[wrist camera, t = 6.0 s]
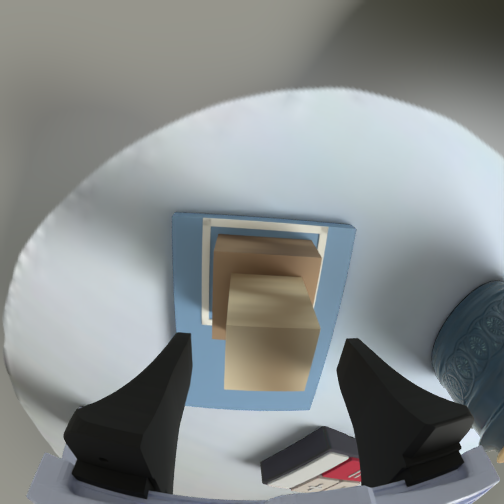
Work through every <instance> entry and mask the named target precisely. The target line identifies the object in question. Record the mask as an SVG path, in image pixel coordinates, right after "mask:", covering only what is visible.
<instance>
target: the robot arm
mask: <svg viewBox="0 0 504 504" xmlns="http://www.w3.org/2000/svg"><path fill="white" fill-rule="evenodd" d="M192 368H193V362H192V342H191V333H183V332H177V333H176V334H175V335H174V337H173V338H172V339H171V341H170V342H169V343H168V345H167V346H166V347H165V348H164V349H163V351H162V352H161V353H160V354H159V355H158V356H157V357H156V358H155V359H154V361H153V362H152V363H151V364H150V365H148V366H147V367H146V368H145V369H144V370H143V371H142V372H141V373H140V374H139V375H138V376H137V377H135V378H134V379H133V380H132V381H130V382H129V383H127V384H126V385H125V386H123V387H122V388H120V389H119V390H117V391H116V392H114V393H112V394H111V395H109V396H107V397H105V398H103V399H101V400H99V401H97V402H95V403H92V404H90V405H87V406H84V407H79V408H78V409H77V410H76V411H75V413H74V414H73V416H72V418H71V419H70V421H69V424H68V426H67V428H66V430H65V432H64V440H65V442H66V445H65V448H64V451H63V456H62V458H59V457H56V456H54V455H51V454H49V453H44V455H43V457H42V460H41V462H40V464H39V467H38V469H37V471H36V474H35V476H34V478H33V481H32V483H31V486H30V488H29V491H28V493H27V498H28V499H29V500H30V501H31V502H33V503H34V504H472V503H473V502H474V501H476V500H477V499H478V498H480V496H482V495H483V494H485V493H486V492H487V491H488V490H490V489H491V488H492V487H493V486H494V485H496V484H497V483H498V482H499V481H500V478H499V476H498V475H497V472H496V471H495V469H494V467H493V465H492V463H491V461H490V459H489V457H488V455H487V454H486V452H485V450H484V448H483V446H482V445H480V446H478V447H476V448H473V449H471V450H469V451H467V452H465V453H463V454H462V455H460V453H459V450H460V449H461V445H460V443H459V442H460V441H461V440H462V438H463V437H464V436H465V435H466V434H467V432H468V431H469V430H470V428H471V427H472V425H473V423H474V417H473V415H472V414H471V412H470V410H469V409H468V407H467V406H466V405H462V404H459V403H455V402H452V401H449V400H446V399H444V398H441V397H439V396H436V395H434V394H432V393H430V392H428V391H426V390H424V389H422V388H420V387H419V386H417V385H415V384H414V383H412V382H411V381H409V380H407V379H406V378H404V377H403V376H402V375H400V374H399V373H398V372H396V371H395V370H394V369H393V368H391V367H390V366H389V365H388V364H386V363H385V362H384V361H383V360H382V359H381V358H380V357H378V356H377V355H376V354H375V353H374V352H373V351H372V350H371V349H370V348H369V347H367V346H366V345H365V344H364V343H363V342H362V341H361V340H359V339H358V338H351V339H346V341H345V345H344V348H343V351H342V354H341V357H340V361H339V364H338V367H337V376H338V381H339V386H340V390H341V393H342V396H343V398H344V401H345V404H346V407H347V410H348V413H349V416H350V419H351V422H352V425H353V428H354V433H355V438H356V443H357V449H358V455H359V463H360V472H361V486H353V487H347V488H341V489H334V490H327V491H319V492H309V493H297V494H289V495H282V496H278V497H275V498H272V499H269V500H258V501H250V500H221V499H207V498H196V497H188V496H180V495H173V480H174V468H175V458H176V449H177V441H178V433H179V427H180V422H181V418H182V414H183V411H184V407H185V403H186V399H187V395H188V391H189V388H190V383H191V376H192Z"/></svg>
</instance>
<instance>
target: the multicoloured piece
mask: <svg viewBox="0 0 504 504" xmlns="http://www.w3.org/2000/svg"><path fill="white" fill-rule="evenodd" d="M261 474H262V483H263V484H266V485H268V486H273V487H278V488H284V489H291V491H296V492H303V493H309V492H319V491H327V490H334V489H341V488H347V487H353V486H357V485H359V484H360V482H361V472H360V463H359V455H358V449H357V443H356V439H355V438H352V437H349V436H348V435H346V434H344V433H342V432H339V431H337V430H334V429H332V428H329V427H326V426H323V427H321V428H319V429H318V430H316V431H314V432H313V433H311V434H310V435H308V436H306V437H305V438H303V439H301V440H300V441H298V442H296V443H295V444H293V445H291V446H289V447H288V448H286V449H284V450H282V451H281V452H279V453H277V454H275V455H273V456H271V457H270V458H268V459H266V460H264V461H262V462H261Z"/></svg>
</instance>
